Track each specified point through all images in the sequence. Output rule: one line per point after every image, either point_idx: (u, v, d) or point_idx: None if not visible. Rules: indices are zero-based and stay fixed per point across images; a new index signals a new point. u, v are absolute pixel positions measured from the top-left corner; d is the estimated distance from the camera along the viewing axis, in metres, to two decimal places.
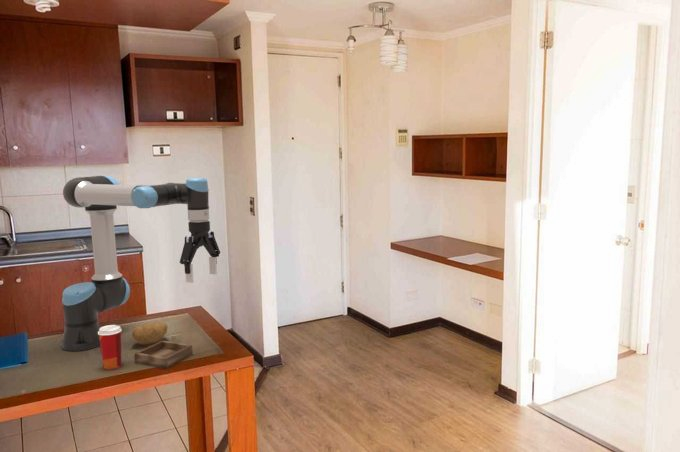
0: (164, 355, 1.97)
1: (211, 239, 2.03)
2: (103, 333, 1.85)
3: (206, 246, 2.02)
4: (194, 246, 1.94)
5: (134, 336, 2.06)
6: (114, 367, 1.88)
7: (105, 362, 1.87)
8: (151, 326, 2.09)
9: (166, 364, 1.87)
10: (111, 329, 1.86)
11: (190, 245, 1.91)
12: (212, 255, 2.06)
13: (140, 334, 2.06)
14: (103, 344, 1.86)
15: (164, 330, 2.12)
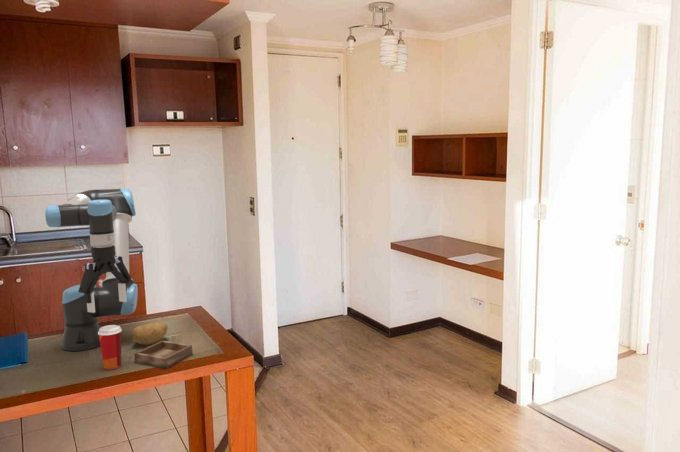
0: (164, 355, 1.97)
1: (119, 264, 1.90)
2: (102, 333, 1.85)
3: (113, 272, 1.89)
4: (96, 273, 1.81)
5: (134, 336, 2.06)
6: (114, 367, 1.88)
7: (105, 362, 1.87)
8: (151, 326, 2.09)
9: (166, 364, 1.87)
10: (111, 329, 1.86)
11: (90, 272, 1.78)
12: (121, 281, 1.92)
13: (140, 334, 2.06)
14: (103, 344, 1.86)
15: (164, 330, 2.12)
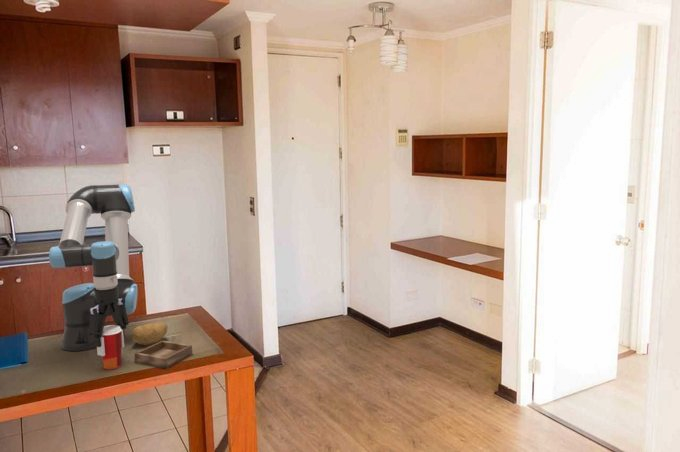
0: (164, 355, 1.97)
1: (121, 307, 1.92)
2: (103, 333, 1.85)
3: (113, 315, 1.90)
4: (102, 316, 1.84)
5: (134, 336, 2.06)
6: (114, 367, 1.88)
7: (105, 362, 1.87)
8: (151, 326, 2.09)
9: (166, 364, 1.87)
10: (111, 329, 1.86)
11: (96, 317, 1.81)
12: None
13: (140, 334, 2.06)
14: None
15: (164, 330, 2.12)
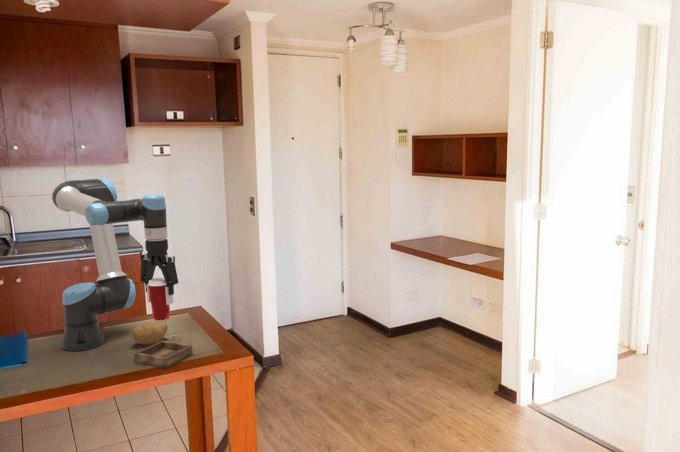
0: (164, 355, 1.97)
1: None
2: None
3: None
4: None
5: (134, 336, 2.06)
6: (153, 318, 1.92)
7: None
8: (151, 326, 2.09)
9: (166, 364, 1.87)
10: (153, 280, 1.91)
11: (142, 263, 1.93)
12: None
13: (140, 334, 2.06)
14: None
15: (164, 330, 2.12)
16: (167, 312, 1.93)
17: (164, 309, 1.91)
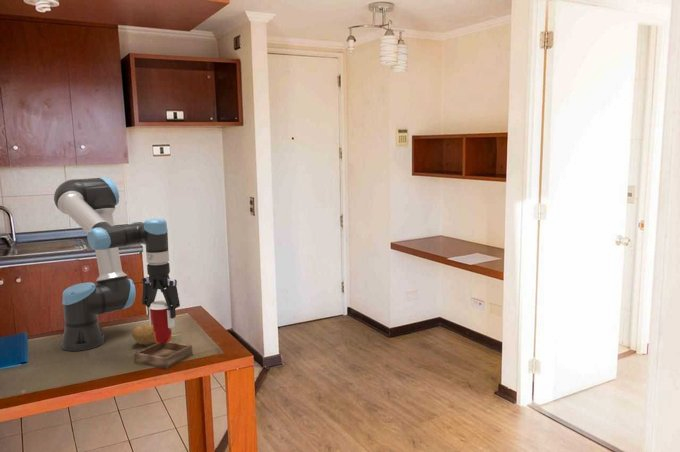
0: (164, 355, 1.97)
1: None
2: None
3: None
4: None
5: (134, 336, 2.06)
6: (155, 341, 1.94)
7: None
8: (151, 326, 2.09)
9: (166, 364, 1.87)
10: (154, 304, 1.92)
11: (144, 286, 1.94)
12: None
13: (140, 334, 2.06)
14: None
15: None
16: (169, 335, 1.94)
17: (166, 332, 1.93)
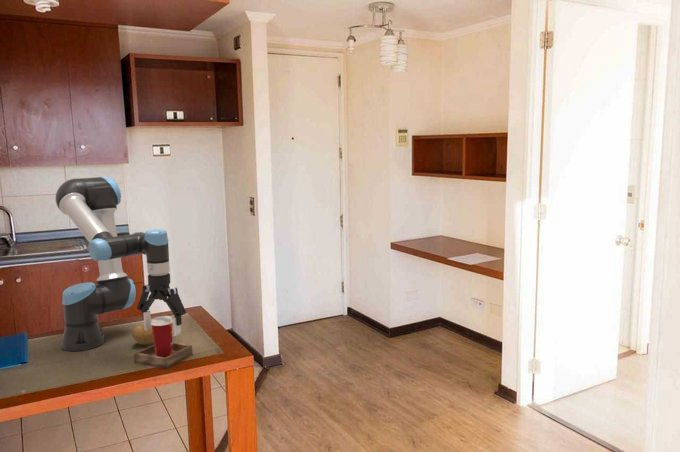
0: None
1: None
2: None
3: None
4: None
5: (134, 336, 2.06)
6: None
7: None
8: (151, 326, 2.09)
9: (166, 364, 1.87)
10: (155, 320, 1.93)
11: (142, 294, 1.95)
12: None
13: (140, 334, 2.06)
14: None
15: None
16: (170, 350, 1.95)
17: (167, 348, 1.93)
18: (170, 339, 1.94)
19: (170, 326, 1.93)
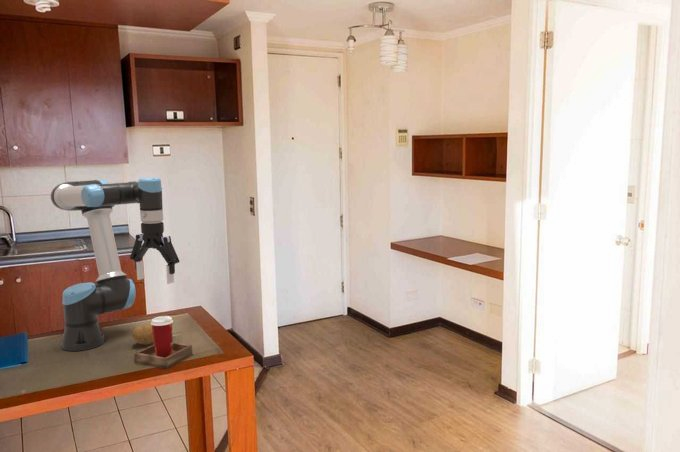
0: None
1: None
2: None
3: None
4: None
5: (134, 336, 2.06)
6: None
7: None
8: (151, 326, 2.09)
9: (166, 364, 1.87)
10: (155, 320, 1.93)
11: (136, 243, 1.93)
12: None
13: (140, 334, 2.06)
14: None
15: None
16: (170, 350, 1.95)
17: (167, 348, 1.93)
18: (170, 339, 1.94)
19: (170, 326, 1.93)
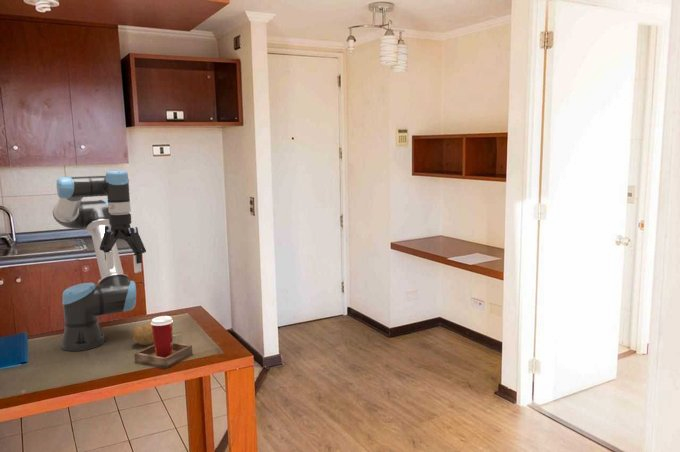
0: None
1: None
2: None
3: None
4: None
5: (134, 336, 2.06)
6: None
7: None
8: (151, 326, 2.09)
9: (166, 364, 1.87)
10: (155, 320, 1.93)
11: (104, 234, 2.00)
12: None
13: (140, 334, 2.06)
14: None
15: None
16: (170, 350, 1.95)
17: (167, 348, 1.93)
18: (170, 339, 1.94)
19: (170, 326, 1.93)
